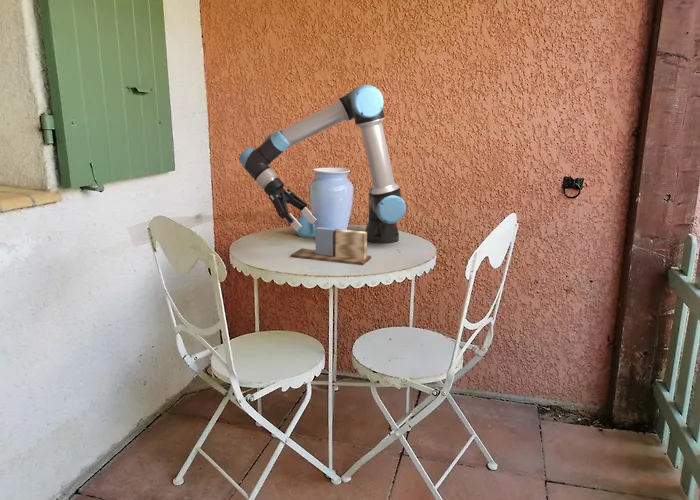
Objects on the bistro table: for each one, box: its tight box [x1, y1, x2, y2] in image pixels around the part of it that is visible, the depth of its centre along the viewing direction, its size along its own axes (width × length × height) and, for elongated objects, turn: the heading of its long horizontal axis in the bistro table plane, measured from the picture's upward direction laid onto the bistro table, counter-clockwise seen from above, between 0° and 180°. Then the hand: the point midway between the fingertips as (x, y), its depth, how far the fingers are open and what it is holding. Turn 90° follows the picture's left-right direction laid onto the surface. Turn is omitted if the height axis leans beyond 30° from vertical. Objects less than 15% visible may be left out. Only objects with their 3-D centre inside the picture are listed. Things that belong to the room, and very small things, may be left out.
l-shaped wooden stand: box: [290, 228, 372, 266], centre depth 206 cm, size 29×10×11 cm, turn 70°
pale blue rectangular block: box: [315, 227, 337, 256], centre depth 206 cm, size 7×3×10 cm, turn 70°
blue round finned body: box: [293, 210, 316, 239], centre depth 243 cm, size 15×15×11 cm
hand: (306, 225), depth 207 cm, fingers open, 13 cm apart
